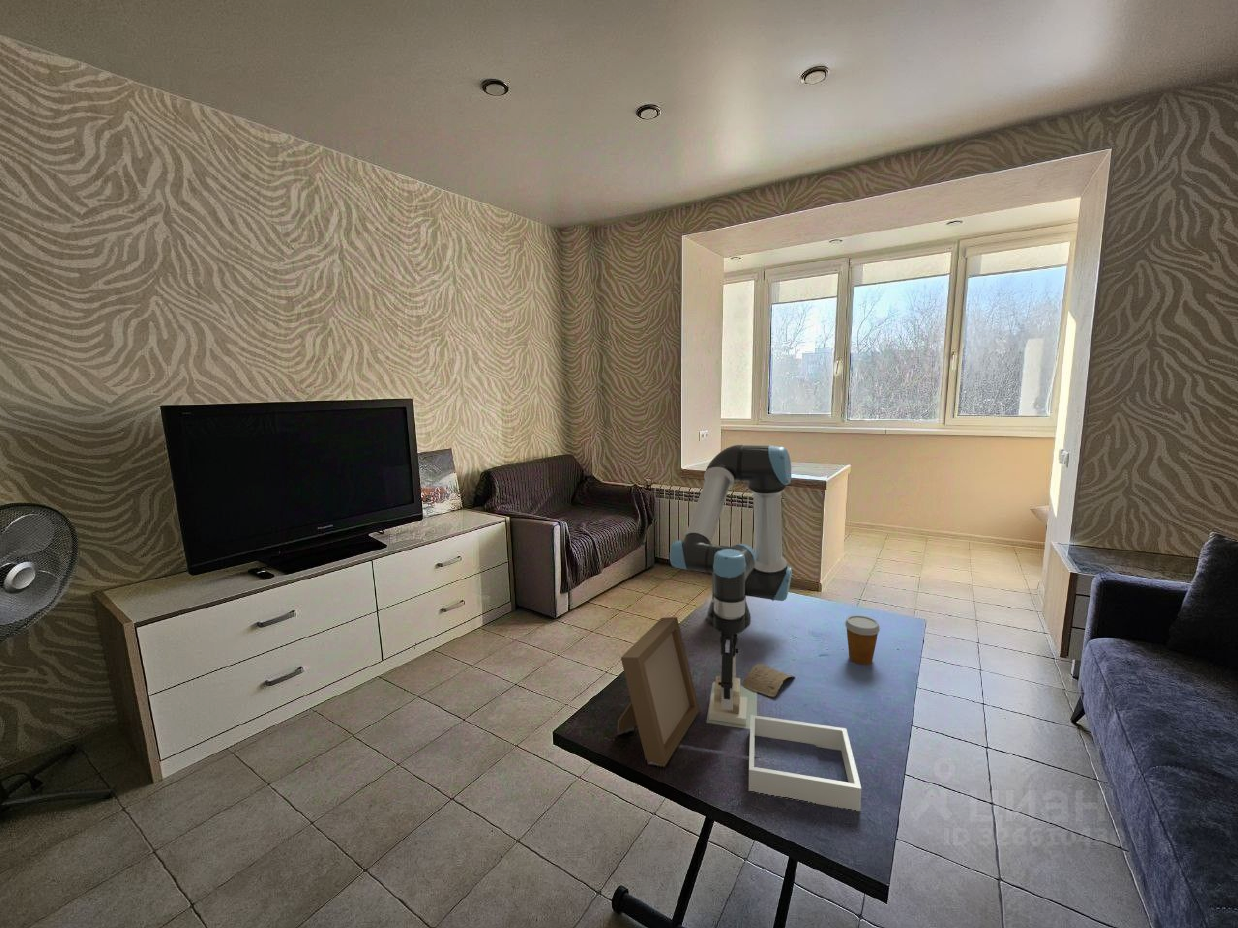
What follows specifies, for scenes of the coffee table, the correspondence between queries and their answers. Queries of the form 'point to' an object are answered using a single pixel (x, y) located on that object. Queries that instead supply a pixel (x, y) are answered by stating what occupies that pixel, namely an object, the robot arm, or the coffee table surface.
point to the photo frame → (659, 690)
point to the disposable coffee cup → (861, 638)
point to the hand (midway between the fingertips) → (728, 692)
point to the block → (735, 696)
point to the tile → (729, 717)
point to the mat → (750, 707)
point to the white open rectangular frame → (801, 784)
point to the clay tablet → (764, 680)
